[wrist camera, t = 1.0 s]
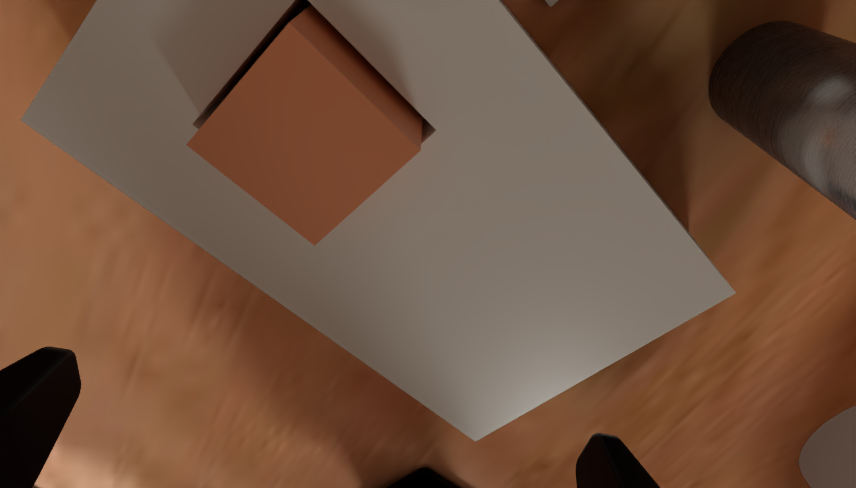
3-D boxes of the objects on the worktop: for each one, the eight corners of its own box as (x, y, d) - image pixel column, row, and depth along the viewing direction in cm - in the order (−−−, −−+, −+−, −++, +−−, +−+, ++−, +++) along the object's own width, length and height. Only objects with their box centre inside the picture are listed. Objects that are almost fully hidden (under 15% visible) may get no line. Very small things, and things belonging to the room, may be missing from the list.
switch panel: (689, 232, 22) (735, 293, 18) (470, 372, 26) (475, 441, 23) (312, -234, 14) (273, -278, 11) (95, 80, 19) (20, 120, 15)
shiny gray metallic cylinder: (836, 78, 18) (1120, 202, 11) (737, 145, 20) (927, 297, 12) (792, -4, 17) (1084, 72, 9) (689, 74, 18) (870, 196, 11)
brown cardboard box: (423, 102, 17) (420, 150, 14) (336, 185, 19) (314, 246, 16) (320, -4, 16) (288, 22, 12) (234, 97, 17) (185, 144, 14)
